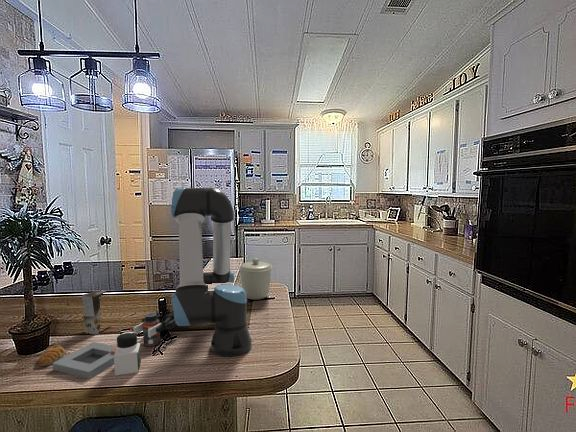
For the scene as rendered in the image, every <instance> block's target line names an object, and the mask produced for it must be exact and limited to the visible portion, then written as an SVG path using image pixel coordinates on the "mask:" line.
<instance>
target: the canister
mask: <svg viewBox="0 0 576 432" xmlns="http://www.w3.org/2000/svg"><path fill="white" fill-rule="evenodd" d="M238 270H239V274H240V282H241V287H242V288H243V289H244V290H245V291H246V299H249V300H262V299H265V298H267V297H268V295H269V292H270V286H271V277H272V270H273V265H272V264H270V263H268V262H265V261H260V259H259V258H257V257H256V258H255V257H254V258H252V260H251V261H247V262H243V263H242V264H240V265H239V266H238Z"/></svg>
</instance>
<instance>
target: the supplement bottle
mask: <svg viewBox="0 0 576 432" xmlns="http://www.w3.org/2000/svg"><path fill="white" fill-rule="evenodd" d="M144 318H145V319H146V320H145V321H144V322H143V331H142V332H143V334H142V336H143V345H144V346H147V347H153V346H157V345H158V344H160V343H161V331H160V332H158V333H156V334H155V335H153V336H151V337H148V330H149V329H150V328H152V327H154V326H156V325H158V324H159V323H160V322H159V319H157V314H156V312H150V313H147V314H145V316H144Z"/></svg>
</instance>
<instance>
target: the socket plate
mask: <svg viewBox="0 0 576 432" xmlns="http://www.w3.org/2000/svg"><path fill="white" fill-rule="evenodd" d="M116 349H117V346H116V345H112V344H106V343H105V344H104V343H102V342H101V343H100V342H95V341H93V342H91V343H89V344H87V345H85V346H84V347H81V348H79V349H77V350H75V351H74V352H72V353H70V354H68V355H64V356H63V357H62V358H60V359H59V360H58V361H56V362H54V363H53V364H52V370H53V371H55V372H60V373H63V374H67V375H72V376H76V377H79V378H83V379H88V380H90V379H92V378H94V377H95V376H97V375H99V374H100V373H102V372H103V371H105V370H106V369H108V368H110V367H111V366H114V354H115V351H116Z"/></svg>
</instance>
